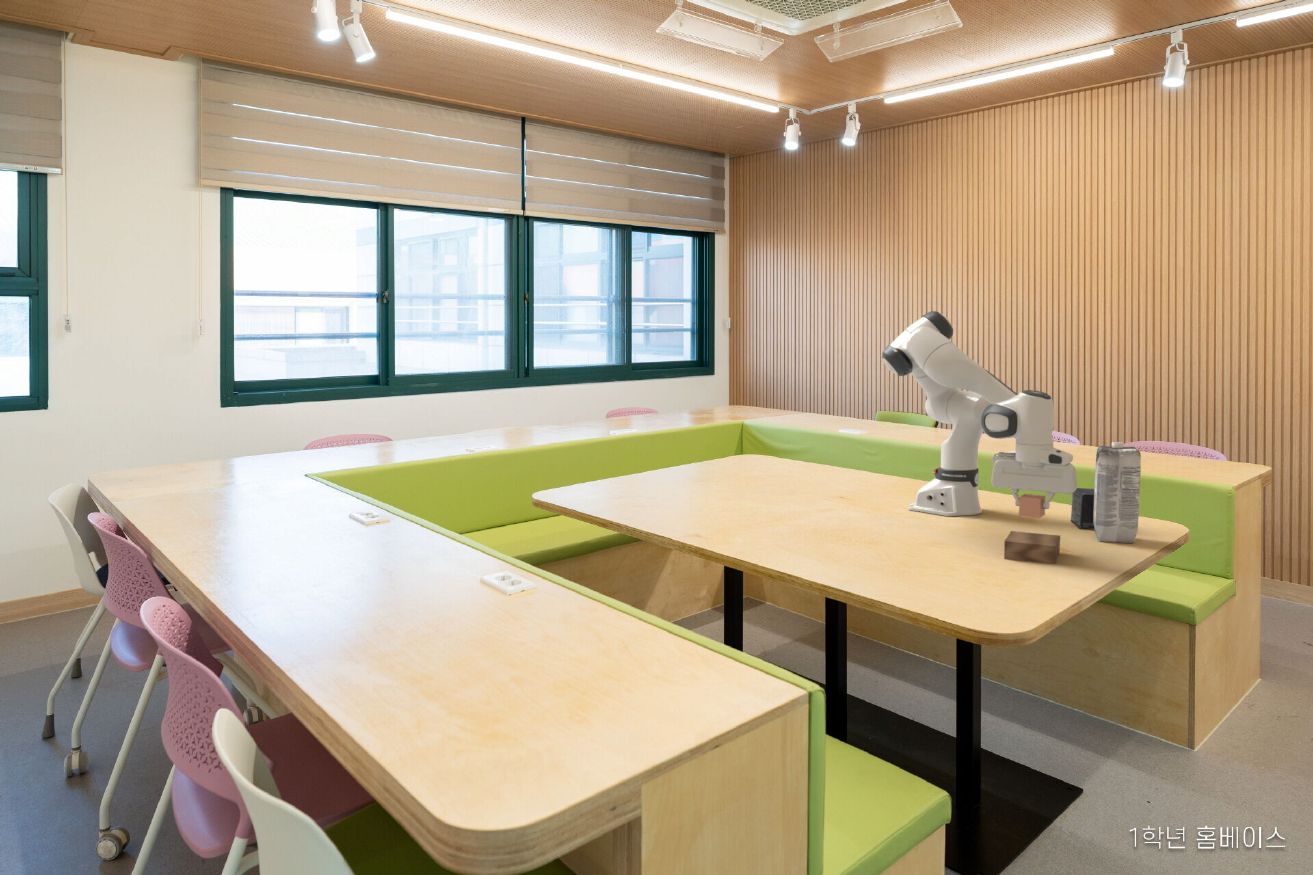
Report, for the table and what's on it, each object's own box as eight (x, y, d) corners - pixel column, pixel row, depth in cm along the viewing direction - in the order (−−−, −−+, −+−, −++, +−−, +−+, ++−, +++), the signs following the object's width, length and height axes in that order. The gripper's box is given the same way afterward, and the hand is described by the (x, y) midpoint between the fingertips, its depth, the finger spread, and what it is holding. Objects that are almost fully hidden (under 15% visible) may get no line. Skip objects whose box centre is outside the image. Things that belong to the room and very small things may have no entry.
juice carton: (1138, 544, 232) (1143, 445, 228) (1095, 542, 235) (1099, 444, 232) (1133, 537, 240) (1138, 441, 236) (1091, 534, 244) (1095, 440, 240)
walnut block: (1004, 560, 222) (1004, 541, 221) (1010, 549, 232) (1011, 531, 231) (1055, 565, 216) (1055, 545, 215) (1059, 553, 226) (1060, 535, 225)
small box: (1103, 530, 249) (1105, 494, 248) (1079, 529, 250) (1081, 494, 249) (1093, 521, 259) (1094, 487, 258) (1069, 521, 260) (1071, 487, 259)
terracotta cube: (1018, 515, 222) (1019, 496, 221) (1024, 512, 226) (1025, 493, 225) (1039, 518, 219) (1040, 498, 218) (1044, 514, 223) (1045, 495, 222)
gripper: (988, 452, 224) (987, 504, 226) (1073, 458, 212) (1071, 513, 213) (996, 449, 229) (994, 500, 231) (1079, 455, 217) (1077, 509, 218)
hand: (1032, 507), depth 222 cm, fingers closed on terracotta cube, 5 cm apart
